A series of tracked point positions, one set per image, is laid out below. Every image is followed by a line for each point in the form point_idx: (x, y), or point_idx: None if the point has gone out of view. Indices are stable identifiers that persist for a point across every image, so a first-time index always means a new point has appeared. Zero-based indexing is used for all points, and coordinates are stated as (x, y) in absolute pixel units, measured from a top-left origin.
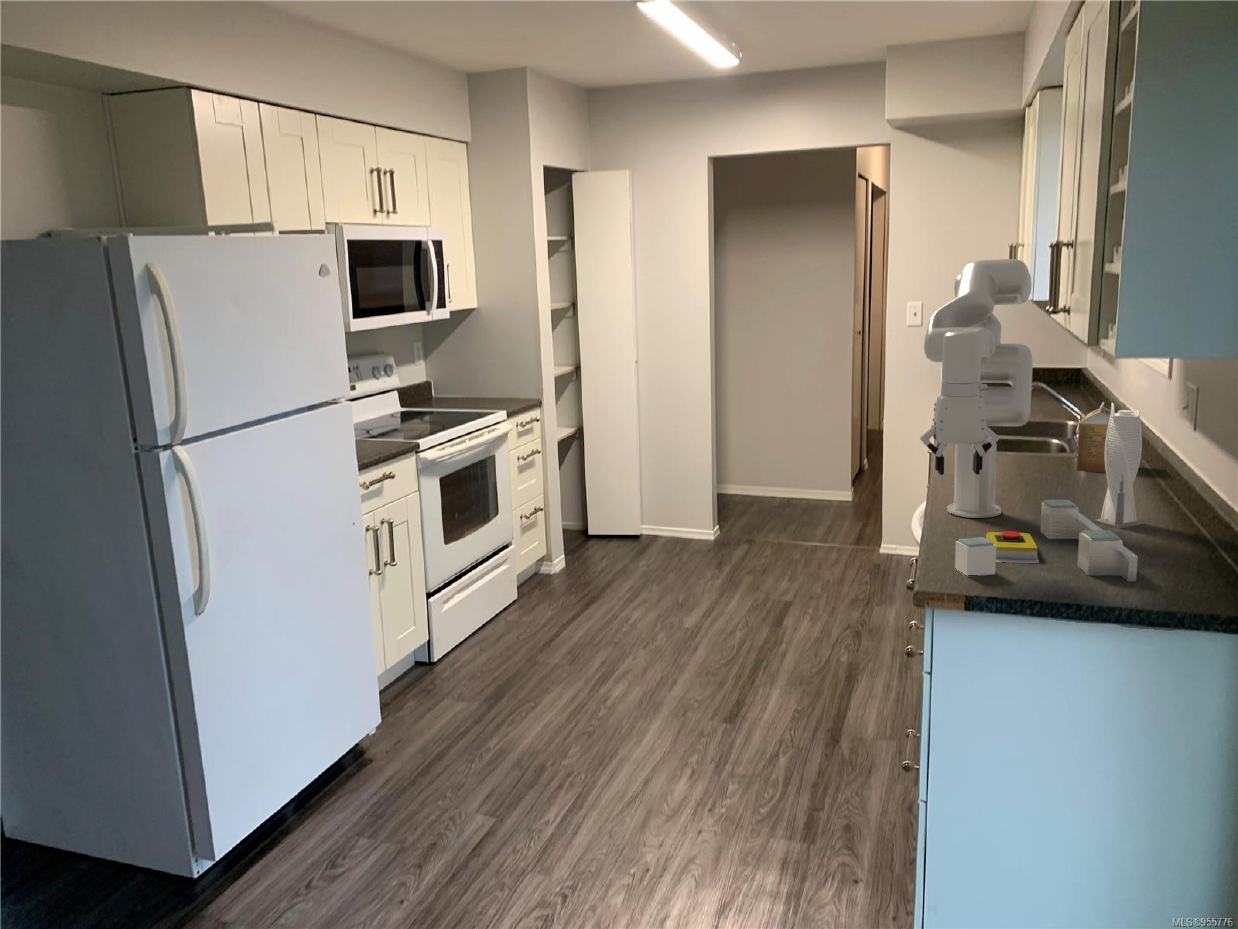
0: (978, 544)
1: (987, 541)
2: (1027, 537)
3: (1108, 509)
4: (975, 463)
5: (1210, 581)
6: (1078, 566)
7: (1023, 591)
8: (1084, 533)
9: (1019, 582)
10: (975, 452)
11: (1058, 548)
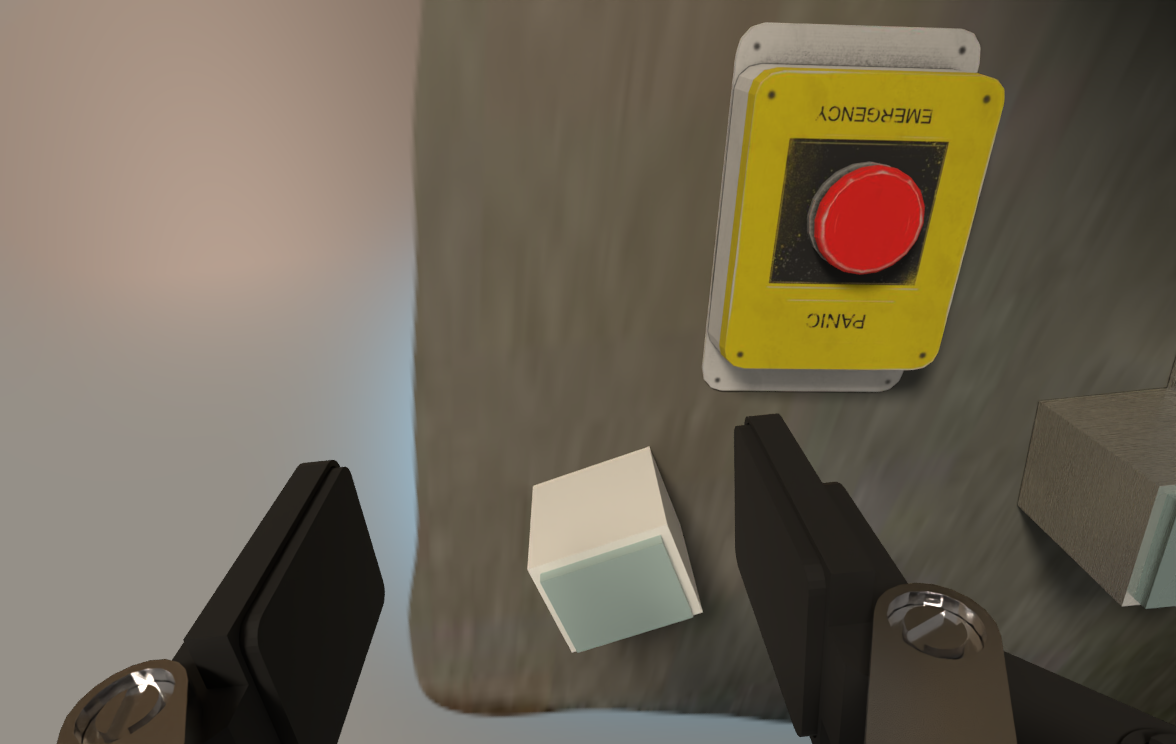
0: (622, 638)
1: (670, 602)
2: (961, 177)
3: None
4: (768, 622)
5: None
6: (1037, 412)
7: (734, 663)
8: (1165, 526)
9: (745, 594)
10: (839, 684)
11: (1093, 134)
